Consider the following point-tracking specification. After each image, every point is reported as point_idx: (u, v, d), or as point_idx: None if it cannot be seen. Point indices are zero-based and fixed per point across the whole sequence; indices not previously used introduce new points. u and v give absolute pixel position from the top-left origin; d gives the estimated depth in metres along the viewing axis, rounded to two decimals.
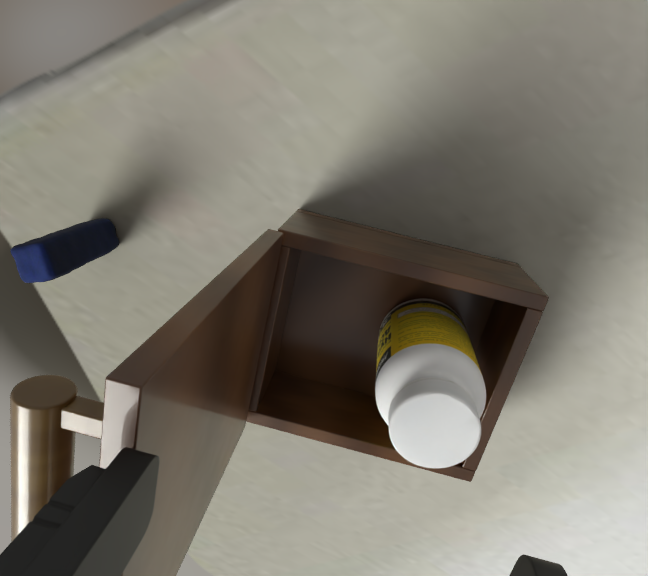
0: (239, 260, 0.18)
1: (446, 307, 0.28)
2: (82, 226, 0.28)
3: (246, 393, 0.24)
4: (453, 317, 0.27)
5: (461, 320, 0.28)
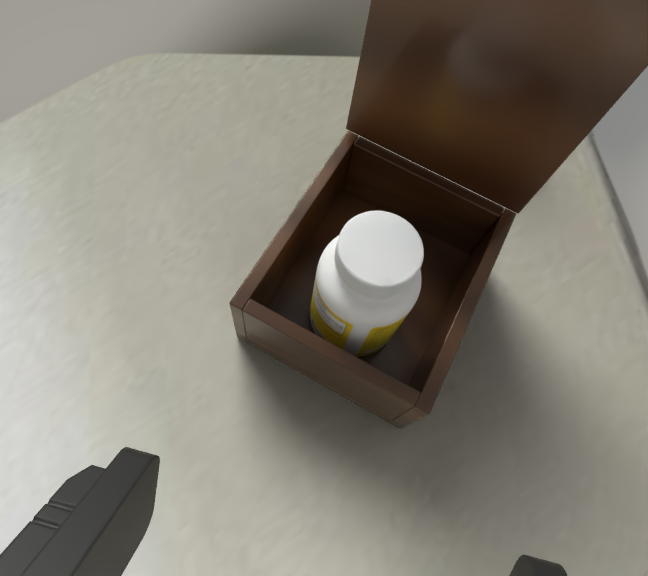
0: None
1: (385, 344, 0.29)
2: None
3: (400, 133, 0.28)
4: (385, 343, 0.28)
5: (370, 355, 0.29)
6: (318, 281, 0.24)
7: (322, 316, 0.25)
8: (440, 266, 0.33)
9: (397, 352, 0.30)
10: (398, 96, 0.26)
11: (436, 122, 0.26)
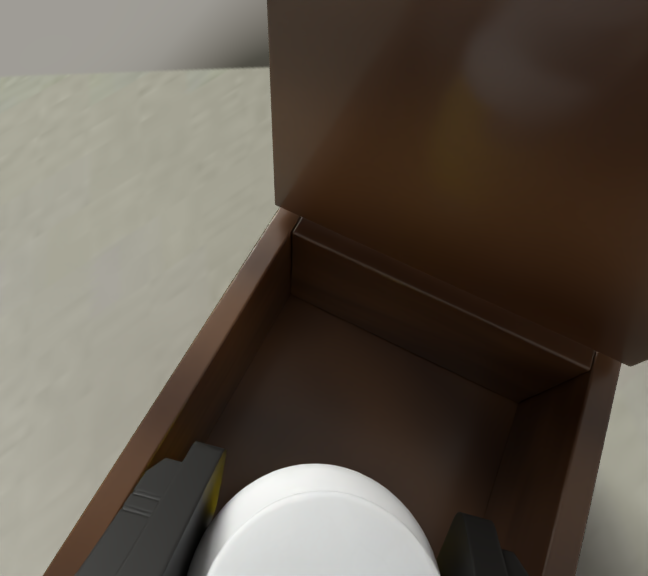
0: None
1: None
2: None
3: (380, 218, 0.13)
4: None
5: None
6: None
7: None
8: (468, 432, 0.18)
9: None
10: (367, 149, 0.11)
11: (456, 202, 0.11)
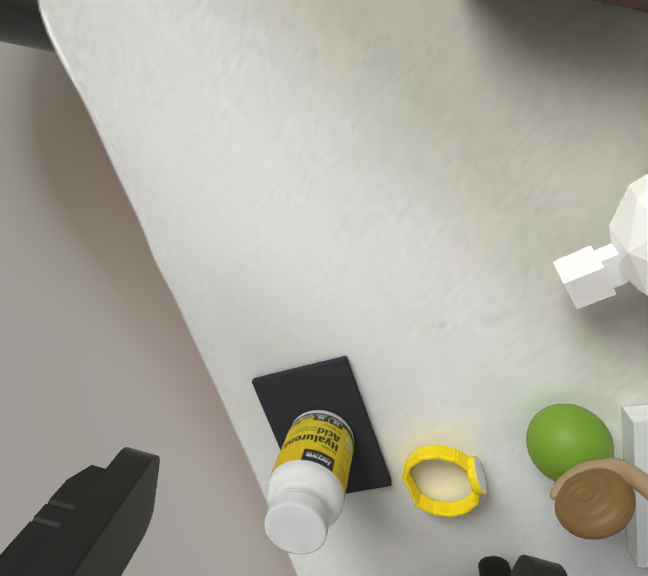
0: None
1: None
2: None
3: None
4: None
5: None
6: None
7: None
8: None
9: None
10: None
11: None
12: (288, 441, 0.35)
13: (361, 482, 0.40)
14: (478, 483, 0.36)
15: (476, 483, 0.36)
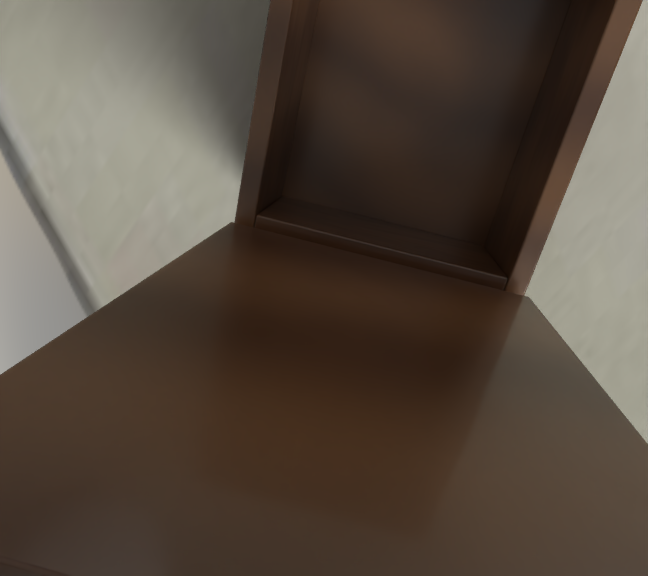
0: None
1: None
2: None
3: (447, 289, 0.16)
4: None
5: None
6: None
7: None
8: (318, 163, 0.23)
9: None
10: (482, 322, 0.14)
11: (402, 297, 0.15)
12: None
13: None
14: None
15: None
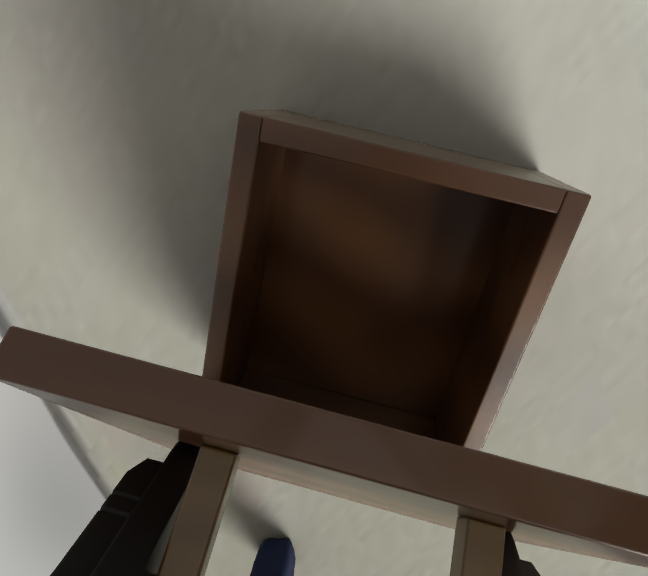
0: None
1: None
2: None
3: None
4: None
5: None
6: None
7: None
8: (279, 344, 0.24)
9: (307, 211, 0.22)
10: None
11: None
12: None
13: None
14: None
15: None
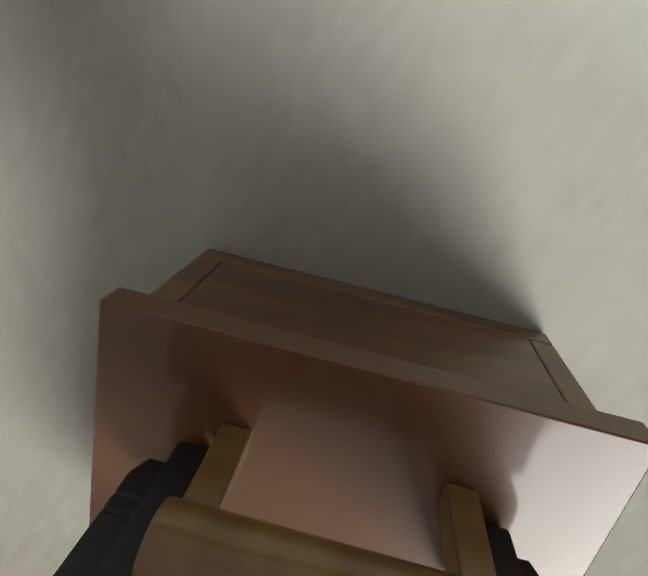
0: None
1: None
2: None
3: None
4: None
5: None
6: None
7: None
8: None
9: None
10: None
11: None
12: None
13: None
14: None
15: None
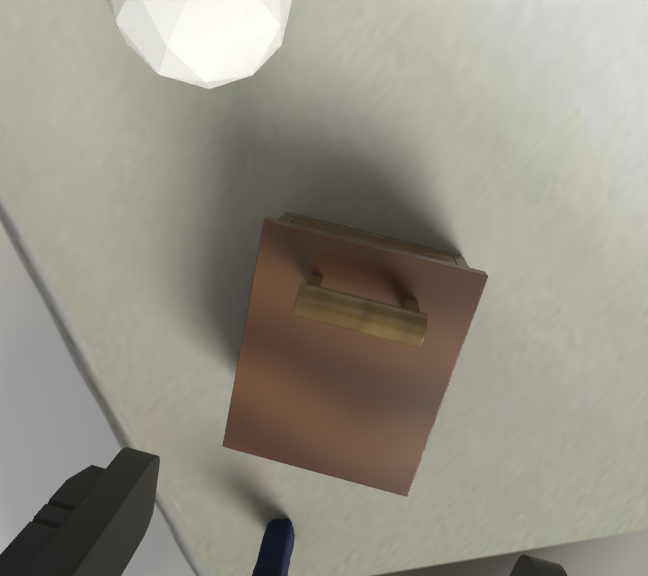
0: (237, 367, 0.28)
1: None
2: None
3: None
4: None
5: None
6: None
7: None
8: None
9: None
10: None
11: None
12: None
13: None
14: None
15: None
